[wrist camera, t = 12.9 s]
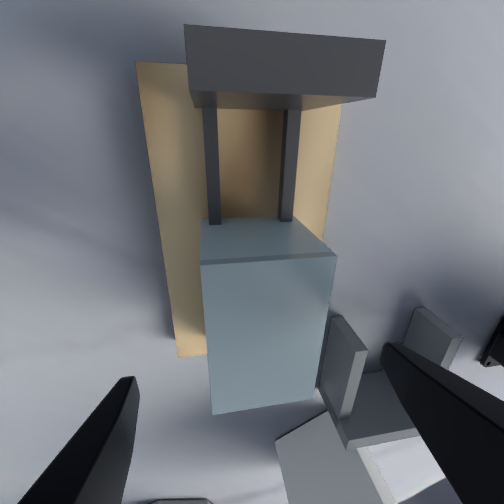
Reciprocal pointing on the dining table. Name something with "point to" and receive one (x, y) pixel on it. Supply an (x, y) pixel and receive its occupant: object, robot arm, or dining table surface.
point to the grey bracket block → (272, 227)
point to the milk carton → (328, 468)
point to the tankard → (182, 501)
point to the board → (222, 179)
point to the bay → (376, 380)
